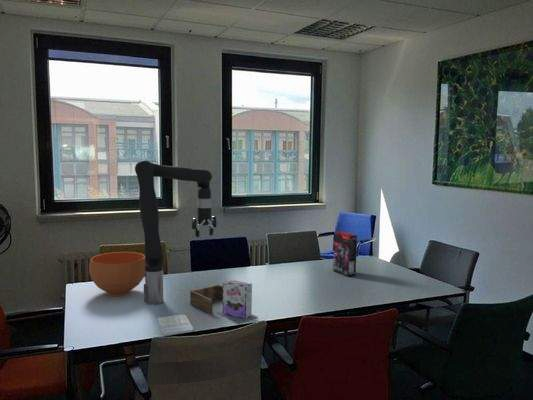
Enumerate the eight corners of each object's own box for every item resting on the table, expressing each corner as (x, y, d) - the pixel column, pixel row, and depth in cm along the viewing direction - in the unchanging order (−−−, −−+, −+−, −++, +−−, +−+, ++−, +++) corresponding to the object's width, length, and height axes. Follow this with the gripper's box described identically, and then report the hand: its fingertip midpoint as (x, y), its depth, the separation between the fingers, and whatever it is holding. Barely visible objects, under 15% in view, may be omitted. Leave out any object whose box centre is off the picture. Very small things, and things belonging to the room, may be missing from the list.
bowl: (156, 288, 262) (156, 253, 259) (127, 304, 233) (126, 266, 231) (111, 283, 270) (111, 250, 267) (78, 298, 241) (77, 261, 239)
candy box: (222, 314, 221) (222, 281, 219) (228, 310, 226) (229, 278, 224) (245, 319, 214) (245, 286, 212) (252, 315, 219) (252, 283, 217)
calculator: (185, 317, 218) (185, 313, 218) (194, 332, 199) (194, 328, 199) (157, 320, 213) (157, 316, 213) (164, 336, 194) (163, 332, 194)
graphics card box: (332, 271, 306) (333, 231, 303) (340, 269, 309) (341, 231, 306) (348, 277, 291) (349, 236, 288) (356, 276, 294) (357, 235, 291)
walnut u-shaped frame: (210, 313, 221) (210, 300, 221) (190, 303, 236) (190, 290, 235) (239, 306, 233) (239, 293, 232) (218, 296, 247) (218, 284, 247)
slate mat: (238, 323, 209) (238, 322, 209) (217, 313, 222) (217, 312, 222) (257, 317, 217) (257, 316, 217) (236, 308, 230) (236, 307, 230)
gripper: (196, 208, 234) (196, 238, 236) (219, 206, 244) (219, 235, 245) (189, 206, 240) (189, 236, 242) (211, 205, 249) (211, 233, 251)
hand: (204, 236), depth 244 cm, fingers open, 8 cm apart
